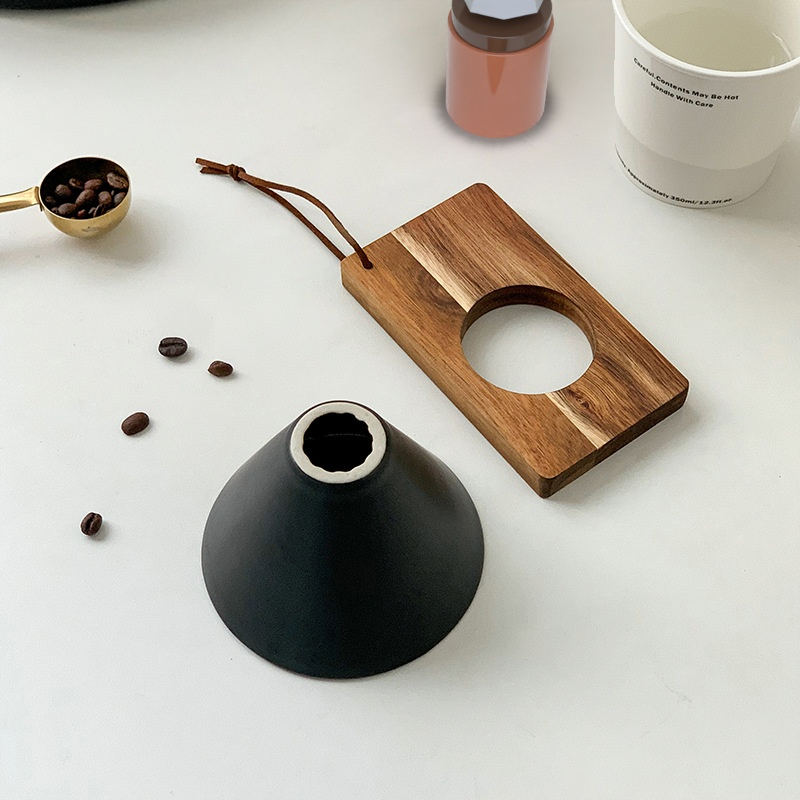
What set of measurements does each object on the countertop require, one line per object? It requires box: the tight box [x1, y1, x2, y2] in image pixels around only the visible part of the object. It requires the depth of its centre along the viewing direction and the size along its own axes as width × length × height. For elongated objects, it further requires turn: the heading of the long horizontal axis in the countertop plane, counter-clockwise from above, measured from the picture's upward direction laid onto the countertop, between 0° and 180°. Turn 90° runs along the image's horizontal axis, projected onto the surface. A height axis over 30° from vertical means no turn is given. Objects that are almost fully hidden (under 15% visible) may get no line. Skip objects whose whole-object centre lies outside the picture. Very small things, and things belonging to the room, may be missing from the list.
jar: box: [445, 0, 555, 139], centre depth 104 cm, size 9×9×12 cm
